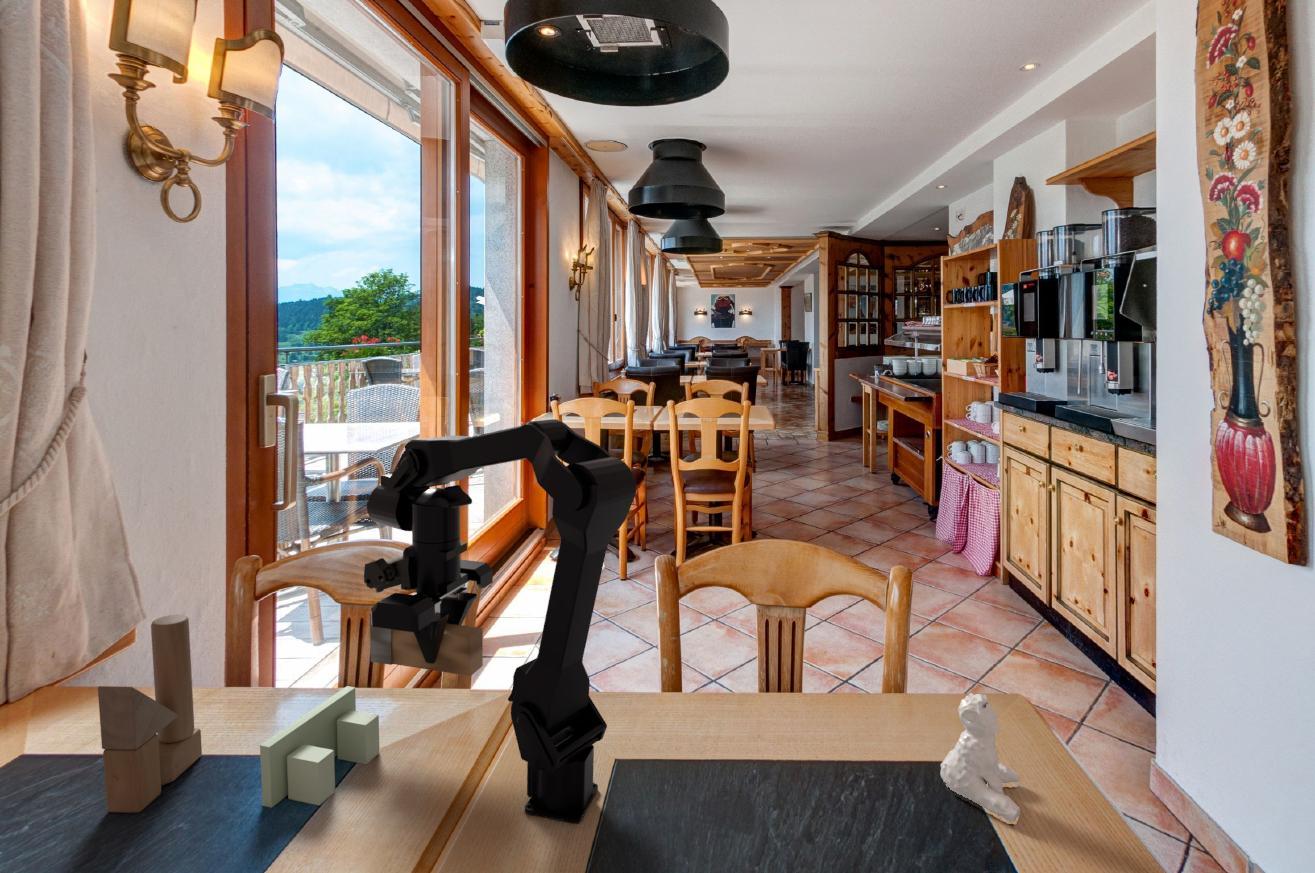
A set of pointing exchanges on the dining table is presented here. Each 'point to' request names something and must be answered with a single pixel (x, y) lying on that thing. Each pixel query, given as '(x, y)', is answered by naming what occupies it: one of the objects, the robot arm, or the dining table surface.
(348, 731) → the pale green slab
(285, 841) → the dining table surface
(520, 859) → the dining table surface
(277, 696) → the dining table surface
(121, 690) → the wooden block
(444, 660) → the hammer
